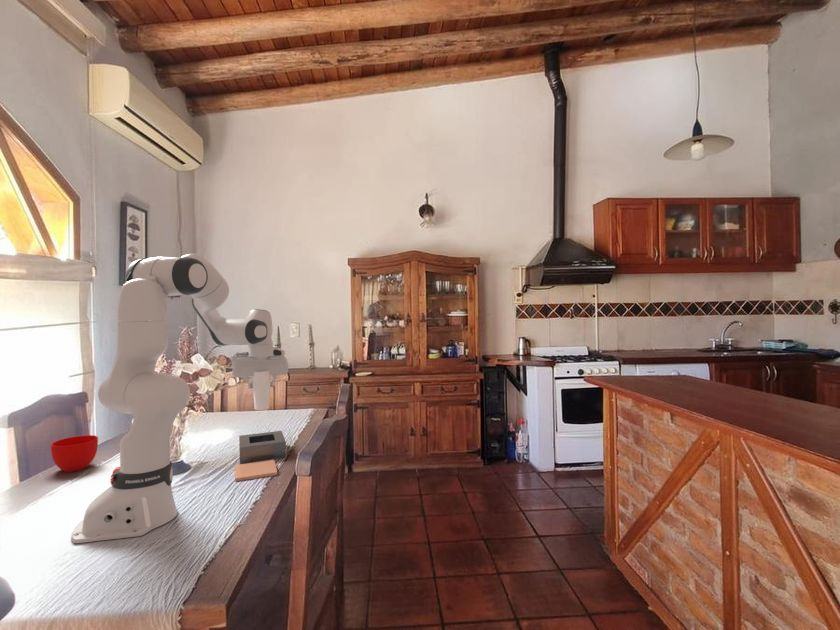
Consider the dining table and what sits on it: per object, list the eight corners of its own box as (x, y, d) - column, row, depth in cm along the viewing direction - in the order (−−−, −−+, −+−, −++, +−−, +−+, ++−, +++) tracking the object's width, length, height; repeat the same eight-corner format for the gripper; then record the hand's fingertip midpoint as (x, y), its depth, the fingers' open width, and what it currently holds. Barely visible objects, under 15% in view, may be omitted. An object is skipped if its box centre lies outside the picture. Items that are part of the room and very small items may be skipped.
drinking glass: (248, 410, 161) (247, 371, 161) (262, 406, 167) (262, 369, 167) (260, 412, 158) (260, 372, 158) (274, 408, 164) (274, 369, 164)
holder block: (239, 464, 152) (239, 447, 152) (239, 450, 167) (239, 435, 167) (286, 457, 159) (285, 441, 159) (281, 445, 173) (281, 430, 173)
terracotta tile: (235, 481, 137) (235, 478, 137) (235, 467, 149) (235, 465, 149) (277, 474, 142) (277, 471, 142) (274, 462, 154) (274, 459, 154)
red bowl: (107, 456, 162) (107, 430, 162) (90, 472, 146) (89, 443, 146) (66, 461, 157) (65, 434, 157) (43, 478, 141) (43, 448, 141)
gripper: (230, 353, 155) (231, 391, 156) (288, 351, 164) (289, 386, 164) (231, 352, 161) (231, 388, 161) (286, 349, 169) (287, 384, 169)
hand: (261, 387), depth 163 cm, fingers closed on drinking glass, 6 cm apart
